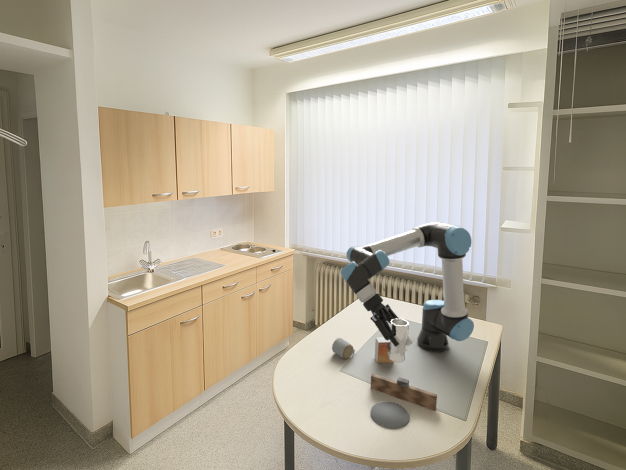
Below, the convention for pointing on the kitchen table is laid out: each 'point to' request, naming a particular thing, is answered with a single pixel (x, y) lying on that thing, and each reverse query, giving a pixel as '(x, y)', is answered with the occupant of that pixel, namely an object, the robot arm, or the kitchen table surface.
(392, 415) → the round pad
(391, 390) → the board
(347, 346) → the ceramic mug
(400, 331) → the beer glass
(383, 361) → the small box
